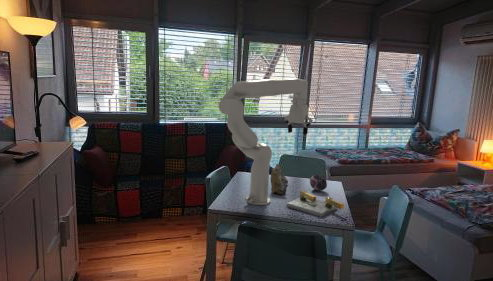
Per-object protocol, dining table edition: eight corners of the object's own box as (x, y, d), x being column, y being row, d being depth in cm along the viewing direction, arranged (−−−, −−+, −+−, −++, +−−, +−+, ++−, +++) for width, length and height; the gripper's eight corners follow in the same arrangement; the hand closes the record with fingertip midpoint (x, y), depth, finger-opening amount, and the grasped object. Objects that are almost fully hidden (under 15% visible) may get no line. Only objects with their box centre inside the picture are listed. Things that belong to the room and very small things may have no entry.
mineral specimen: (328, 192, 200) (329, 176, 199) (311, 192, 200) (312, 176, 198) (323, 188, 210) (324, 172, 209) (307, 187, 209) (308, 172, 208)
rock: (285, 196, 190) (287, 171, 188) (267, 194, 192) (269, 169, 190) (289, 184, 216) (291, 161, 214) (274, 182, 218) (275, 160, 216)
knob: (344, 210, 164) (345, 203, 164) (338, 211, 163) (339, 204, 162) (328, 203, 174) (329, 196, 174) (323, 204, 172) (324, 197, 172)
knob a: (316, 203, 174) (317, 196, 173) (311, 204, 172) (311, 197, 171) (303, 196, 184) (304, 190, 183) (298, 197, 182) (298, 191, 181)
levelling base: (321, 217, 160) (322, 212, 160) (286, 206, 173) (286, 201, 172) (337, 208, 173) (337, 203, 173) (303, 199, 186) (303, 194, 185)
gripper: (282, 101, 185) (280, 132, 188) (310, 103, 174) (307, 135, 177) (289, 101, 191) (287, 131, 194) (317, 103, 180) (314, 134, 183)
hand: (297, 133), depth 185 cm, fingers open, 9 cm apart
